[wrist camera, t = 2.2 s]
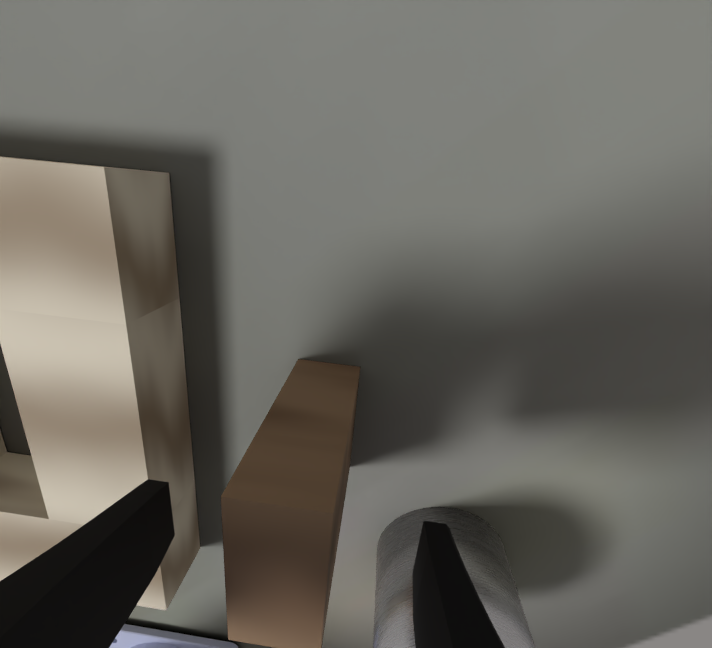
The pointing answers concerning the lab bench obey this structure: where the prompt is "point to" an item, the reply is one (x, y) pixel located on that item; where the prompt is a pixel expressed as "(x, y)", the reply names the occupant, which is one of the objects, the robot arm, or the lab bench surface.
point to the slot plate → (92, 357)
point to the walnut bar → (290, 510)
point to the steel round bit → (481, 563)
